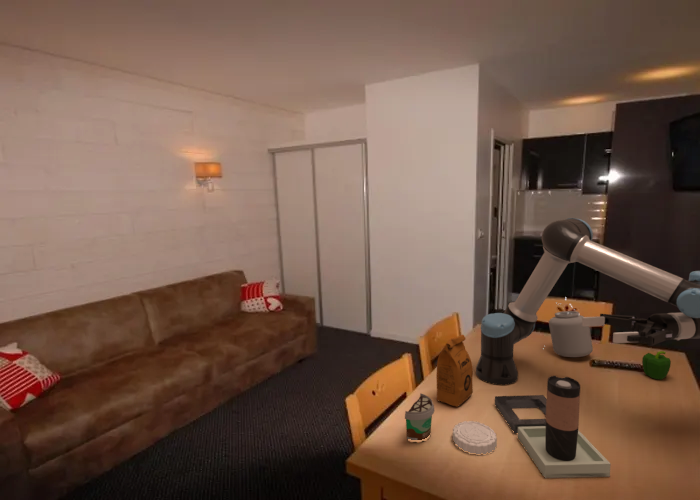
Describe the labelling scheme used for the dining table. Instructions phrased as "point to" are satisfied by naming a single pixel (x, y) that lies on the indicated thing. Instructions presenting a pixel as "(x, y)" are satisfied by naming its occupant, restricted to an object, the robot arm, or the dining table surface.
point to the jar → (570, 334)
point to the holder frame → (526, 401)
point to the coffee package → (454, 373)
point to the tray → (583, 465)
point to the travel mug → (562, 417)
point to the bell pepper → (656, 365)
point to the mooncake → (474, 437)
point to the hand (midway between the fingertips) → (597, 329)
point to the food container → (419, 418)
